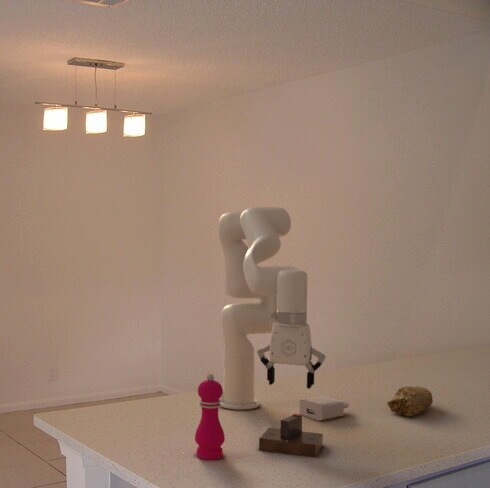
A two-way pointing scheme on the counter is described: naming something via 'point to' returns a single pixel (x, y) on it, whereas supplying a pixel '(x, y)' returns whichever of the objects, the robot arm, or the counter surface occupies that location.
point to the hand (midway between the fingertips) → (290, 385)
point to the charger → (322, 407)
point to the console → (291, 443)
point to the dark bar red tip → (291, 426)
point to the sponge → (410, 401)
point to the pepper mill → (209, 421)
